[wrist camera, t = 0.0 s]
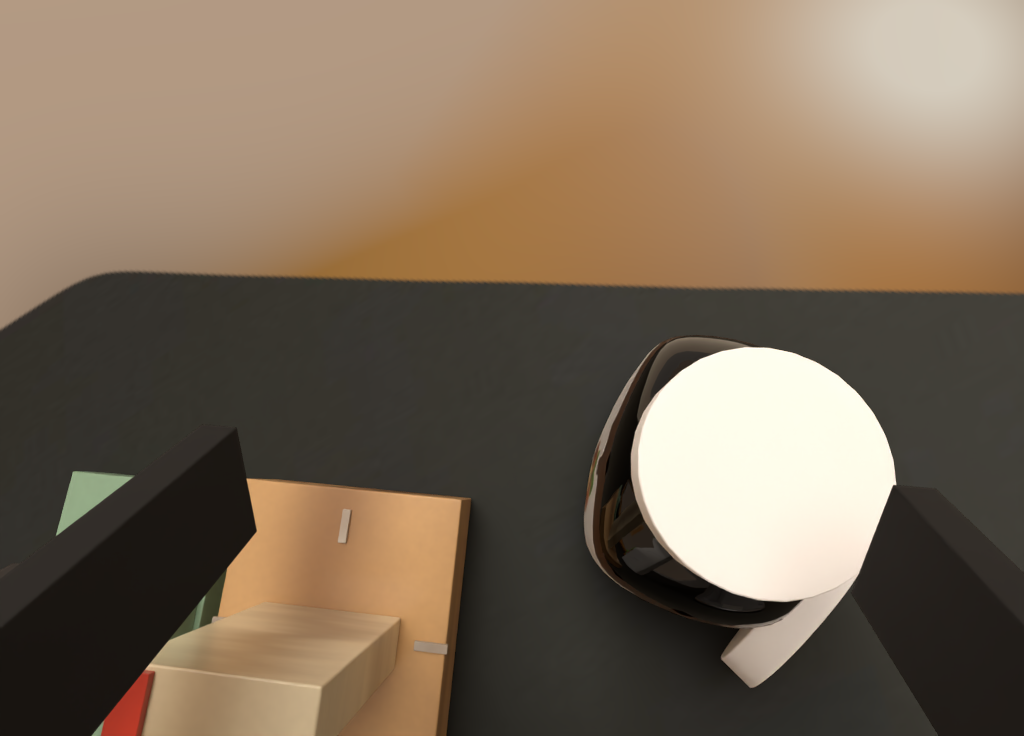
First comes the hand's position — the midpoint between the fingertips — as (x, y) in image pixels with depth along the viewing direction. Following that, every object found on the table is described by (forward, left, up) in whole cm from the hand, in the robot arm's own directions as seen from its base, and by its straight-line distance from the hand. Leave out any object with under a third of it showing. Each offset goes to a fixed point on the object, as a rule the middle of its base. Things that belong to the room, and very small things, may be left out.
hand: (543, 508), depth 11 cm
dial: (-6, +9, -12) cm, 16 cm away
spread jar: (0, -7, -15) cm, 17 cm away
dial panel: (-6, +9, -15) cm, 19 cm away
